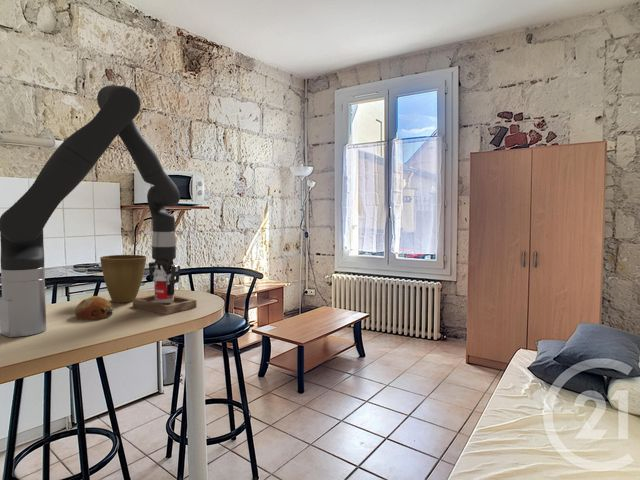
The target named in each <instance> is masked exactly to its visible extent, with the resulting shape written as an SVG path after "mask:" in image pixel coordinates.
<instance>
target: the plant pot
mask: <svg viewBox="0 0 640 480" xmlns="http://www.w3.org/2000/svg"><path fill="white" fill-rule="evenodd" d="M99 259H100V260H99V261H100V266H101V271H102V274H103V279H104V283H105V285H106V288H107V289H106V290H107V292H108V294H109V297H110V299H111V301H112V302H113V303H115V304H116V303H117V304H118V303H120V304H122V303H123V304H124V303H130V302H133V299H135V298H137V296H138V293H139V291H140V287H141V284H142V282H143V277H144V273H145V269H146V263H147V255H140V254H111V255H104V256H100V257H99Z"/></svg>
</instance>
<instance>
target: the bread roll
mask: <svg viewBox="0 0 640 480" xmlns="http://www.w3.org/2000/svg"><path fill="white" fill-rule="evenodd" d="M113 311H114V305H113V304H112V303H111V302H110V301H109V300H108V299H106V298H105V297H101V296H99V295H93V296H90V297H88V298H85V299H83V300H82V301H80V302H79V303H78V305H77V306H76V308H75V311H74V314H75V317H76V319H77V320H84V321H95V320H96V321H98V320H103V319H107V318H110V317H111V316H112V315H113Z"/></svg>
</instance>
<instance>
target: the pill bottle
mask: <svg viewBox="0 0 640 480" xmlns="http://www.w3.org/2000/svg"><path fill="white" fill-rule="evenodd" d="M157 274H158V276H156V277H155V289H154V295H155V302H157V303H170V302H173V301H174V296H175V294H174V295H171V296H168V295H167V285H168V284H167V281H166V279H165V278H164V276H163V271H161V270H157ZM167 275H171V273H170V274H167ZM169 279H170V280H171V278H169Z"/></svg>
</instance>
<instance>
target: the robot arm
mask: <svg viewBox="0 0 640 480" xmlns="http://www.w3.org/2000/svg"><path fill="white" fill-rule="evenodd" d="M96 102H97V105H98V109H99V111H98V112H97V113H96V114H95V116H94V117H93V118H92V119H90V121H89V122H88V123H85V124H84V126H82V127H80V128H79V129H77V130H76V131H74V132H73V133H72V134H70V135H69V136H68V137H67V138H65V140H64V141H62V143H61V144H60V145H59V146H58V147H57V148H56V150H55V151H54V152H53V153H52V154H51V155H50V157H49V159H48V160H47V161H46V162H45V164H44V166H43V167H42V168H41V170H40V171H39V174H38V175H37V177H36V179H35V180H34V181H33V184H32V185H31V186H29V187H30V188H29V189H28V190H27V191H26V192H25V193H24V194H23V195H22V196H20V198H18V200H17V201H15V202H14V203H13V205H12V206H10V207H9V208H8V209H7V210H5V211H4V212H3V213H2V214H1V215H0V277H1V278H0V279H1V296H0V334H1V335H3V336H4V337H7V338H16V337H18V338H19V337H26V336H31V335H36V334H37V335H38V334H40V333H42V332H44V331H46V330H47V313H46V312H47V310H46V309H47V307H46V284H45V283H46V280H45V279H46V278H45V276H46V275H45V274H46V273H45V249H44V248H45V247H44V246H45V245H44V244H45V243H44V228H45V226H46V225H47V223H48V222H49V219H50V218H51V217H52V215H53V213H54V212H55V211H56V209H57V207H58V206H59V205H60V204H61V202H62V201H63V200H64V199H66V197H68V195H70V193H72V192H73V191H74V190H75V188H76V187H77V186H79V185H80V183H81V182H82V181H83V180H84V179H85V178H86V177H87V175H88V174H89V172H91V170H92V169H93V167H94V166H95V165H96V164H97V162H98V161H99V160H100V158H101V157H102V156H103V154H104V153H105V152H106V150H107V149H108V148H109V146H110V145H111V144H112V143H113V142H114V140H115V139H116V137H119V138H120V140H121V141H122V143H123V145H124V146H125V148H126V150H127V151H128V153H129V155H130V157H131V159H132V161H133V163H134V165H135V166H136V168H137V170H138V173H139V174H140V177H141V178H142V180H143V181H144V182H145V183H146V184H149V185H152V186H151V187H149V189H148V191H147V195H146V200H147V206H148V209H149V212H150V216H151V219H152V234H151V259H152V260H154V261H151V262H149V263H148V269H149V270H148V271H149V279H150V281H151V280H152V282H153V283H154V290H155V277H156V276H158V274H157V270H161V271H163V276H164V278H165V279H166V281H167V284H168V285H167V295H168V296H171V295H174V296H175V285H176V284H177V283H179V282H180V273H181V272H180V271H181V265H180V264H177V265H176V264H175V262H174V260H175V259H176V258H177V251H176V249H177V244H176V243H177V241H176V240H177V239H176V237H177V236H176V220H175V219H176V218H175V216H174V215H173V214H172V213H168V212H167V209H166V207H169V208H171V207H175V206H177V205H178V204H179V202H180V200H181V194H180V191H179V190H180V189H179V188H178V185H177V184H175V182H174V181H173V180H172V178H171V177H170V176H169V175H168V174H167V173H166V171H165V170H164V168H163V166H162V163H161V161H160V158H159V157H158V156H157V154H156V151H155V150H154V149H153V147H152V146H151V145H150V144H149V142H148V141H147V139H146V138H145V136H144V135H143V134H142V132H141V131H140V129H139V128H138V126H137V125H136V122H135V120H134V119H135V118H136V117H137V116H138V115H139V112H140V111H141V106H142V105H141V103H142V102H141V98H140V95H139V94H138V93H137V91H135V89H133V88H130V87H128V86H124V85H107V86H103V87H102V88H100V90H99V91H98V92H97V96H96ZM170 273H171V275H167V274H170ZM169 278H171V280H170V279H169Z"/></svg>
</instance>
